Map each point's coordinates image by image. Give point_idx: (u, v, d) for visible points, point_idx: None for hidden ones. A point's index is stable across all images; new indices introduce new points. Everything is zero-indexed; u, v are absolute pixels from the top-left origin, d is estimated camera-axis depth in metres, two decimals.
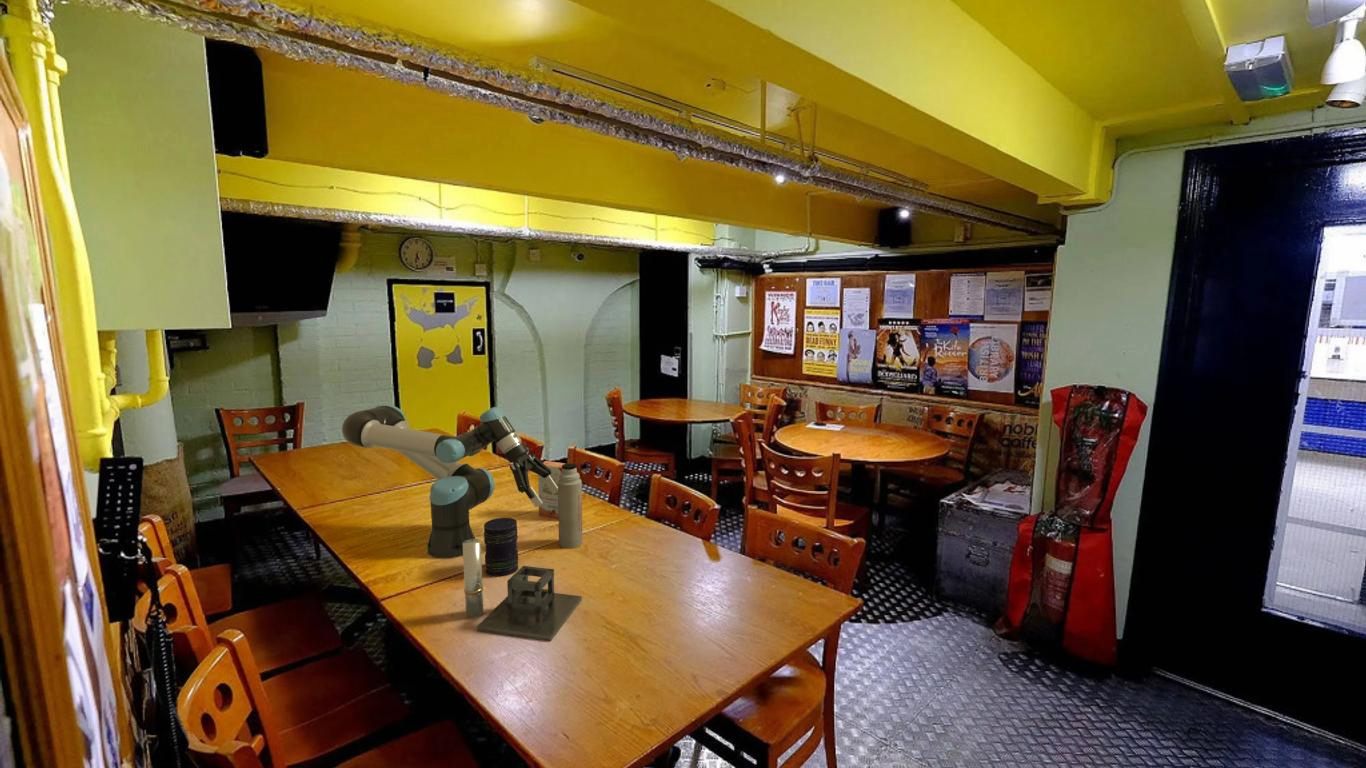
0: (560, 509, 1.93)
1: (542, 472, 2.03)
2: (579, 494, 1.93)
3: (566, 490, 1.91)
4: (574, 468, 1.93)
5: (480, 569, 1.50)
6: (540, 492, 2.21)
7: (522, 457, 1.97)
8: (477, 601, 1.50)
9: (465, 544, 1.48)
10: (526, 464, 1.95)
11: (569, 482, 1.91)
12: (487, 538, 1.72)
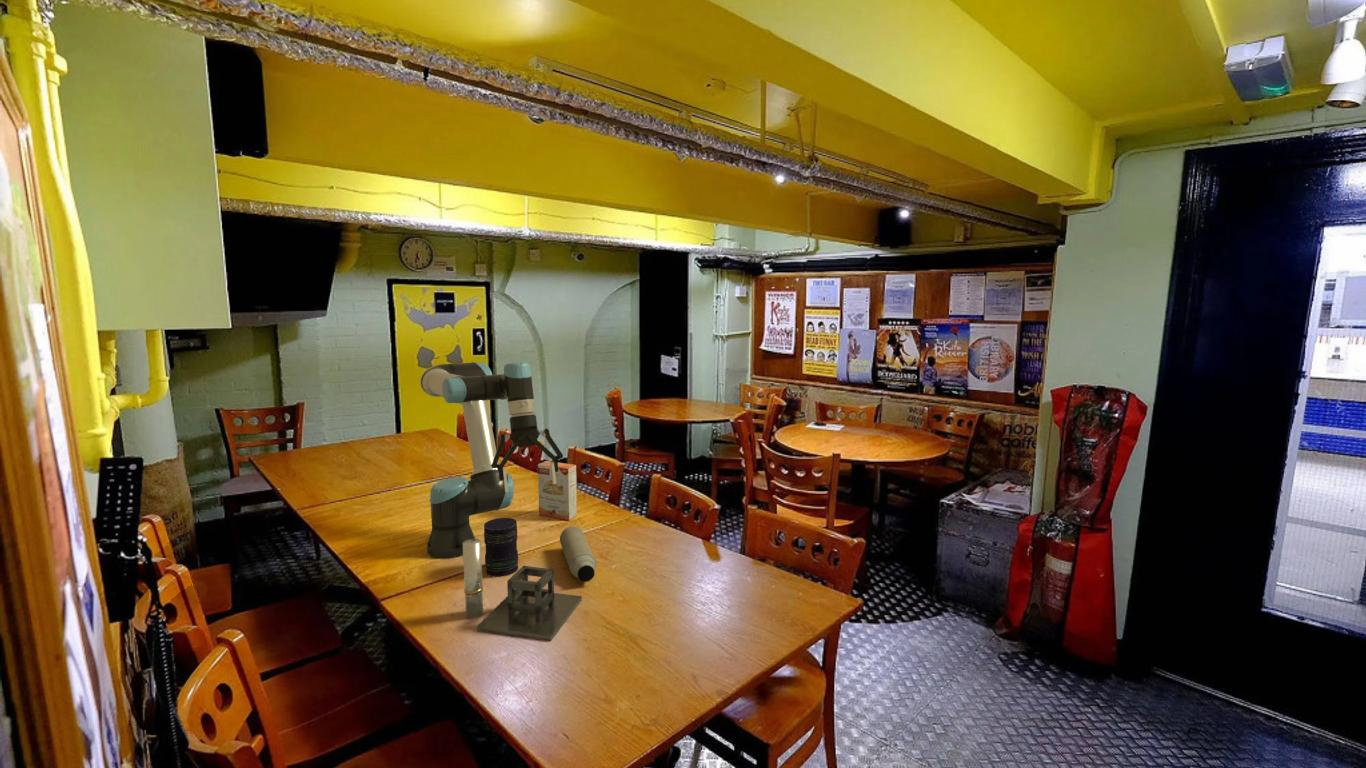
0: None
1: (547, 455, 1.69)
2: None
3: None
4: None
5: (480, 569, 1.50)
6: (540, 492, 2.21)
7: (522, 430, 1.66)
8: (477, 601, 1.50)
9: (465, 544, 1.48)
10: (518, 441, 1.65)
11: None
12: (487, 538, 1.72)
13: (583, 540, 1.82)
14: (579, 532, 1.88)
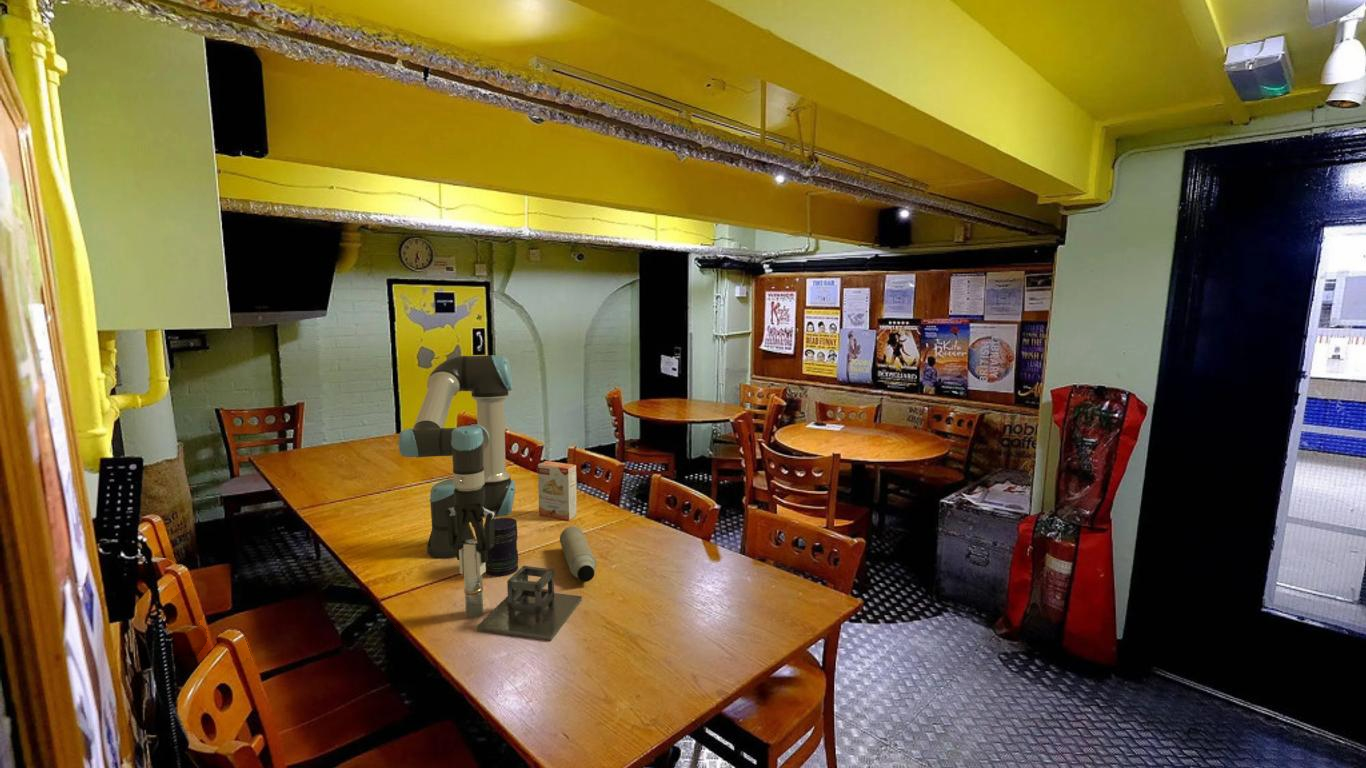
0: None
1: None
2: None
3: None
4: None
5: None
6: (540, 492, 2.21)
7: None
8: (477, 601, 1.50)
9: (465, 544, 1.48)
10: (459, 516, 1.47)
11: None
12: None
13: (583, 540, 1.82)
14: (579, 532, 1.88)
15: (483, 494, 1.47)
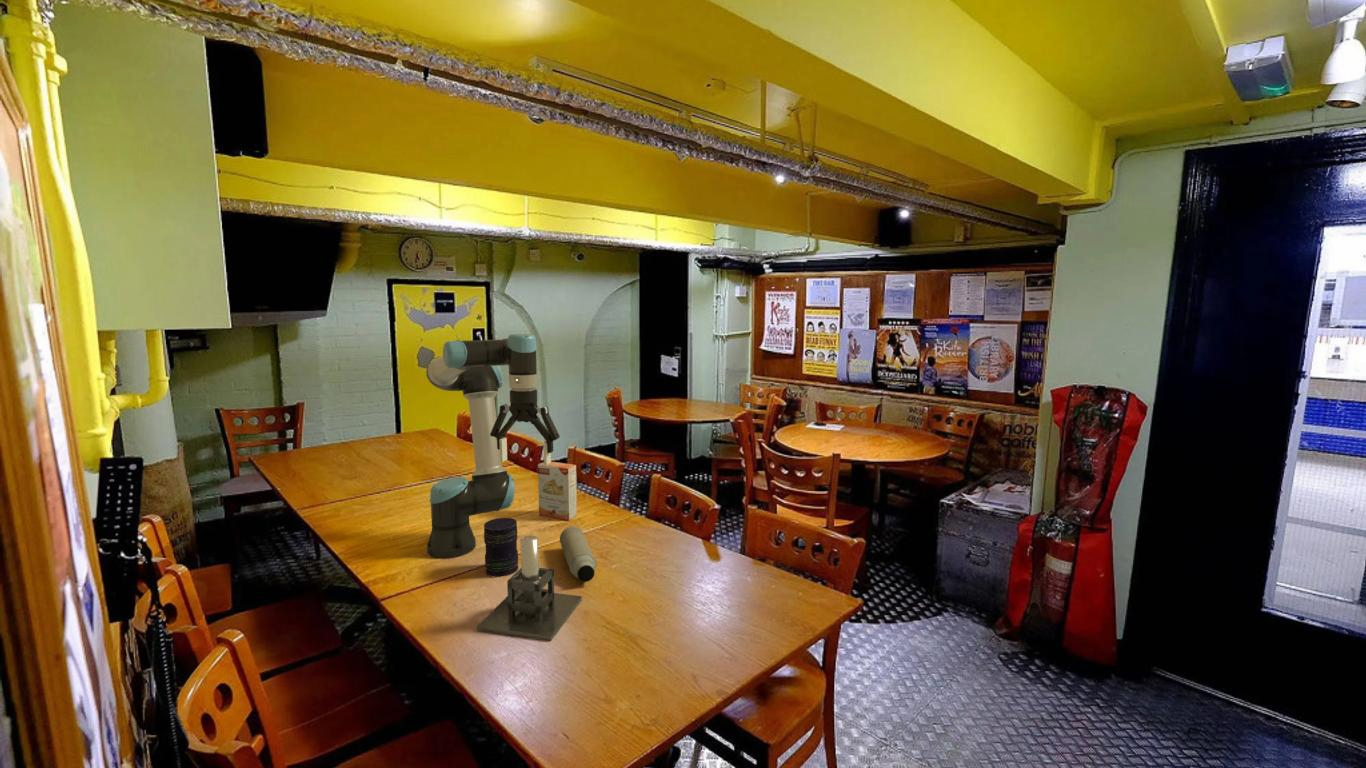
0: None
1: None
2: None
3: None
4: None
5: (538, 566, 1.50)
6: (540, 492, 2.21)
7: (520, 405, 1.61)
8: None
9: (524, 541, 1.47)
10: (514, 415, 1.61)
11: None
12: (487, 538, 1.72)
13: (583, 540, 1.82)
14: (579, 532, 1.88)
15: (536, 396, 1.61)
